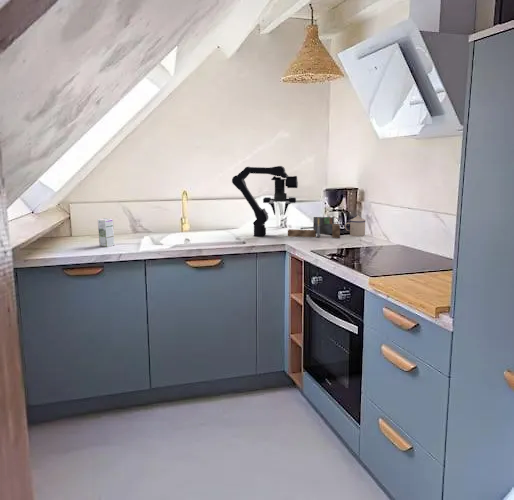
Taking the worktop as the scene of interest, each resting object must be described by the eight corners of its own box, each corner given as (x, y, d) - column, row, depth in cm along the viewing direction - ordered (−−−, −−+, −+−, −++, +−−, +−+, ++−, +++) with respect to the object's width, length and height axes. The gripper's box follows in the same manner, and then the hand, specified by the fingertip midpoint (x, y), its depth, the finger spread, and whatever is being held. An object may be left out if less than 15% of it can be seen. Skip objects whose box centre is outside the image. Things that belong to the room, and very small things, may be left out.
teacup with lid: (365, 234, 299) (365, 214, 297) (365, 236, 290) (365, 216, 288) (344, 233, 302) (345, 214, 300) (344, 236, 293) (344, 216, 291)
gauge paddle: (317, 236, 288) (317, 221, 286) (317, 233, 302) (317, 218, 300) (319, 236, 288) (319, 221, 286) (319, 233, 302) (319, 218, 300)
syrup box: (115, 245, 268) (113, 218, 265) (106, 247, 263) (104, 219, 260) (107, 244, 270) (105, 217, 268) (99, 246, 265) (97, 219, 263)
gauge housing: (313, 237, 287) (313, 220, 285) (313, 233, 304) (313, 217, 302) (339, 238, 285) (340, 220, 284) (338, 233, 302) (338, 217, 300)
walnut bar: (287, 237, 293) (287, 230, 292) (288, 236, 297) (288, 229, 296) (315, 237, 289) (315, 231, 288) (315, 236, 293) (316, 230, 292)
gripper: (262, 188, 282) (262, 216, 285) (295, 188, 280) (295, 216, 283) (264, 187, 293) (264, 214, 296) (296, 187, 291) (295, 214, 294)
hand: (279, 215), depth 292 cm, fingers open, 5 cm apart
